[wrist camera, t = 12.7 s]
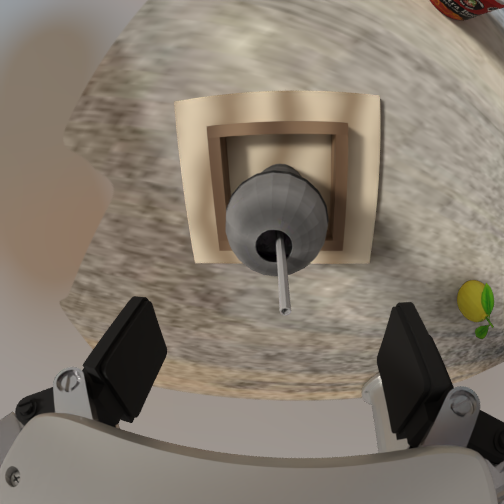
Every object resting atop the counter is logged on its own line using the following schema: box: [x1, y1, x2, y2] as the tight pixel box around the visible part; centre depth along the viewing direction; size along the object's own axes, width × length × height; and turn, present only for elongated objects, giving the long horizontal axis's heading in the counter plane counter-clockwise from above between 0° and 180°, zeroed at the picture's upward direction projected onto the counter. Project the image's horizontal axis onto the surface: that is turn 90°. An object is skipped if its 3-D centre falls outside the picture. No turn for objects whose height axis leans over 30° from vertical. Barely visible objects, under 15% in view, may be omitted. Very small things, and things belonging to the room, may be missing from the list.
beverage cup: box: [226, 164, 329, 315], centre depth 21 cm, size 7×7×20 cm
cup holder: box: [174, 91, 380, 264], centre depth 29 cm, size 22×20×4 cm
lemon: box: [457, 280, 494, 339], centre depth 29 cm, size 7×6×10 cm
